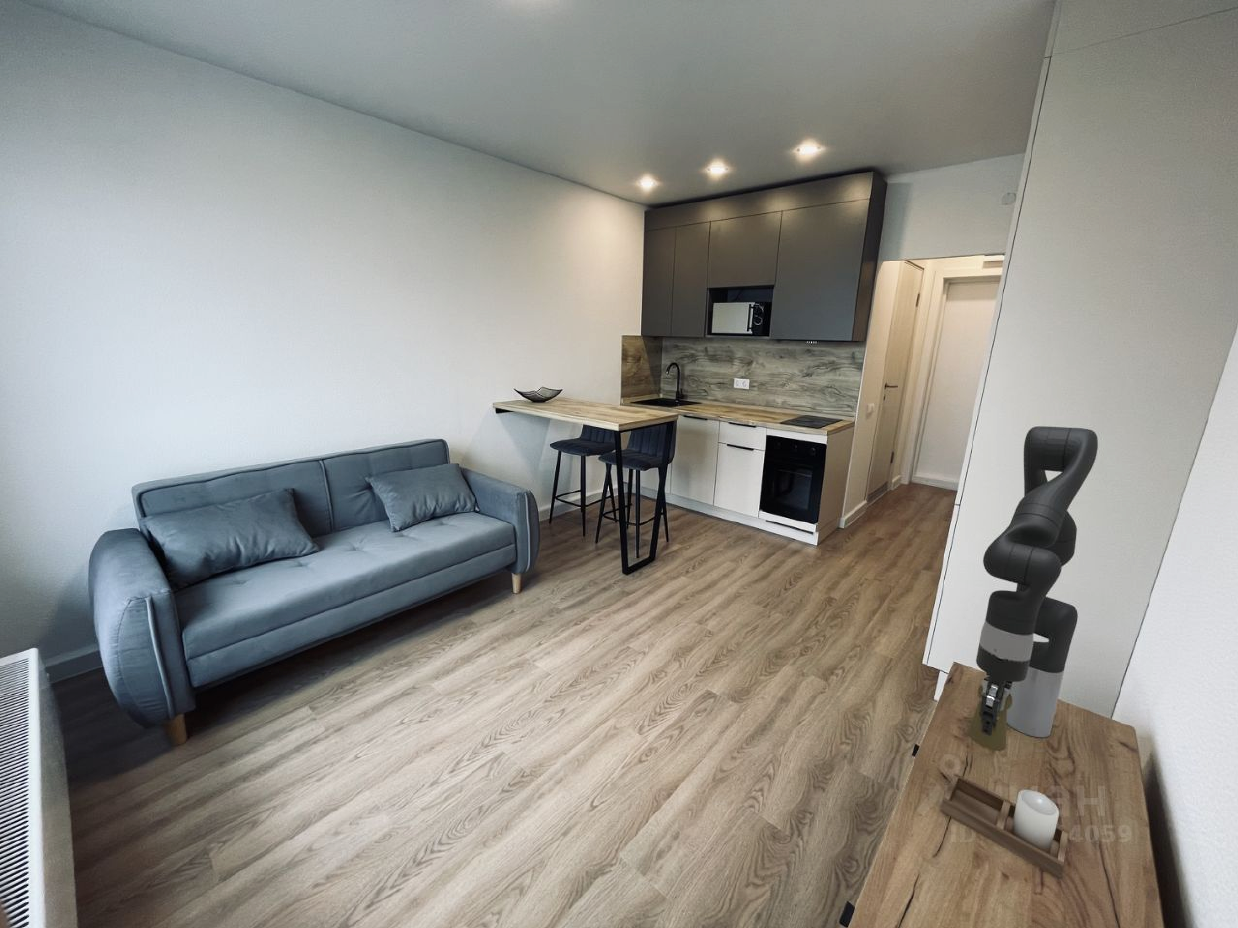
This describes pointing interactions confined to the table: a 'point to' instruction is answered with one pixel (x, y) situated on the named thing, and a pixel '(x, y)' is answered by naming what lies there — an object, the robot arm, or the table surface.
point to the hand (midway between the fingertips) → (988, 728)
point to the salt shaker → (1035, 820)
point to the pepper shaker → (999, 736)
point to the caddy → (999, 822)
